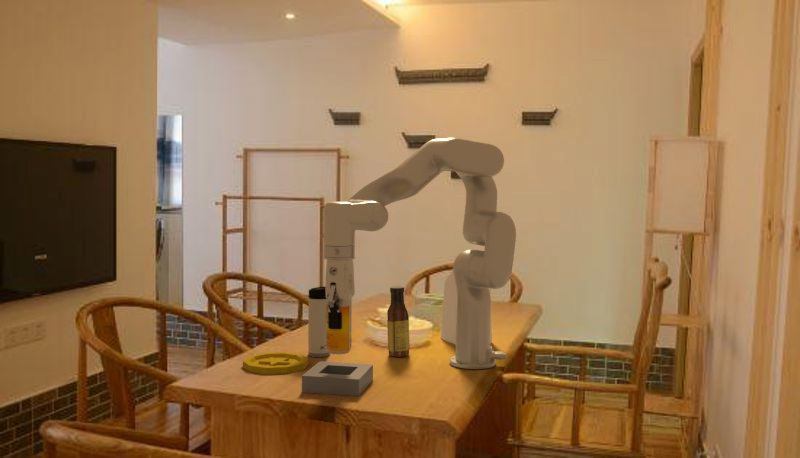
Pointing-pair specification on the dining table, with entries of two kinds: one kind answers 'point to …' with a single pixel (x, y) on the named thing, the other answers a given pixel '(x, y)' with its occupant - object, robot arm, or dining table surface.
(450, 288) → the milk
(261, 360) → the decorative disc
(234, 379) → the dining table surface
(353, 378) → the socket dock
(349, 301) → the beer can
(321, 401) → the dining table surface
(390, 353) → the sauce bottle
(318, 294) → the travel mug
